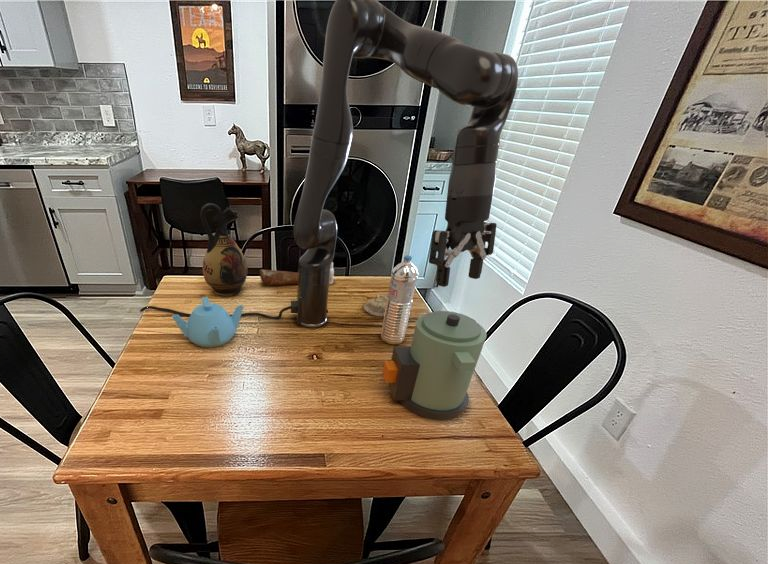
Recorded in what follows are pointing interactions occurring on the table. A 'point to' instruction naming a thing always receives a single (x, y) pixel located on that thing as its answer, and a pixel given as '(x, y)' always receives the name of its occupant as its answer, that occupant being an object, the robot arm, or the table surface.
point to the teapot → (209, 324)
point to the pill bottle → (331, 274)
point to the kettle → (438, 365)
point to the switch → (390, 371)
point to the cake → (376, 305)
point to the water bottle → (399, 302)
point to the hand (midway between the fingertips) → (458, 281)
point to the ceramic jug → (222, 254)
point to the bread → (278, 277)
